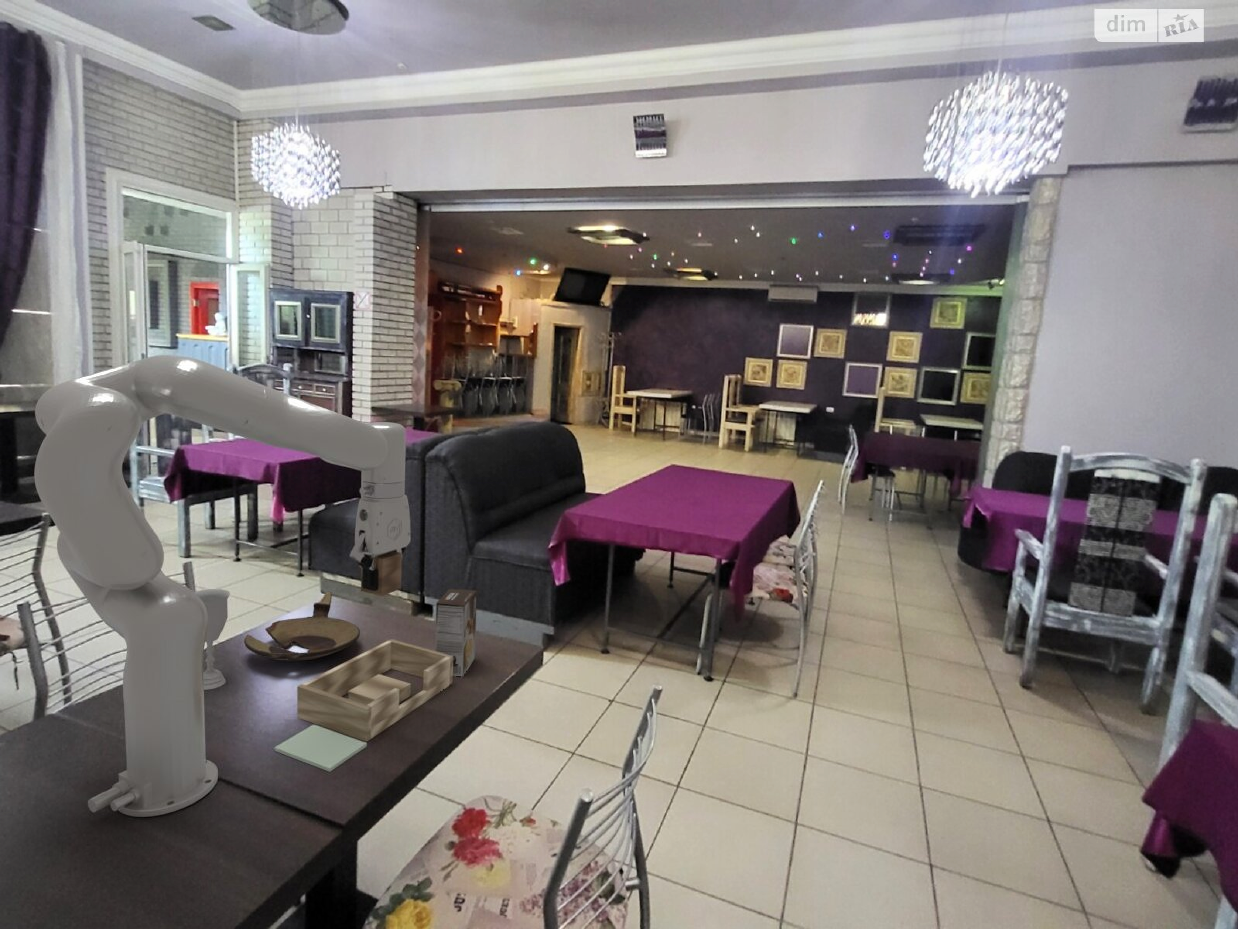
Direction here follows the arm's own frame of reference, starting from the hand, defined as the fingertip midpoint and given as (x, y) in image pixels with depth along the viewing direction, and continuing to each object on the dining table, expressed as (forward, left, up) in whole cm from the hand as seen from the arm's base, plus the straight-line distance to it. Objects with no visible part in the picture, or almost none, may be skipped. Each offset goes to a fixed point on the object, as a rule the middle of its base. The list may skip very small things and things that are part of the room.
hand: (381, 584), depth 122 cm
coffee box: (+19, -4, -24) cm, 30 cm away
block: (0, 0, -1) cm, 1 cm away
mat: (-17, -3, -23) cm, 29 cm away
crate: (0, 0, -23) cm, 23 cm away
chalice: (-11, +32, -23) cm, 41 cm away
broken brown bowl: (+10, +28, -24) cm, 38 cm away
